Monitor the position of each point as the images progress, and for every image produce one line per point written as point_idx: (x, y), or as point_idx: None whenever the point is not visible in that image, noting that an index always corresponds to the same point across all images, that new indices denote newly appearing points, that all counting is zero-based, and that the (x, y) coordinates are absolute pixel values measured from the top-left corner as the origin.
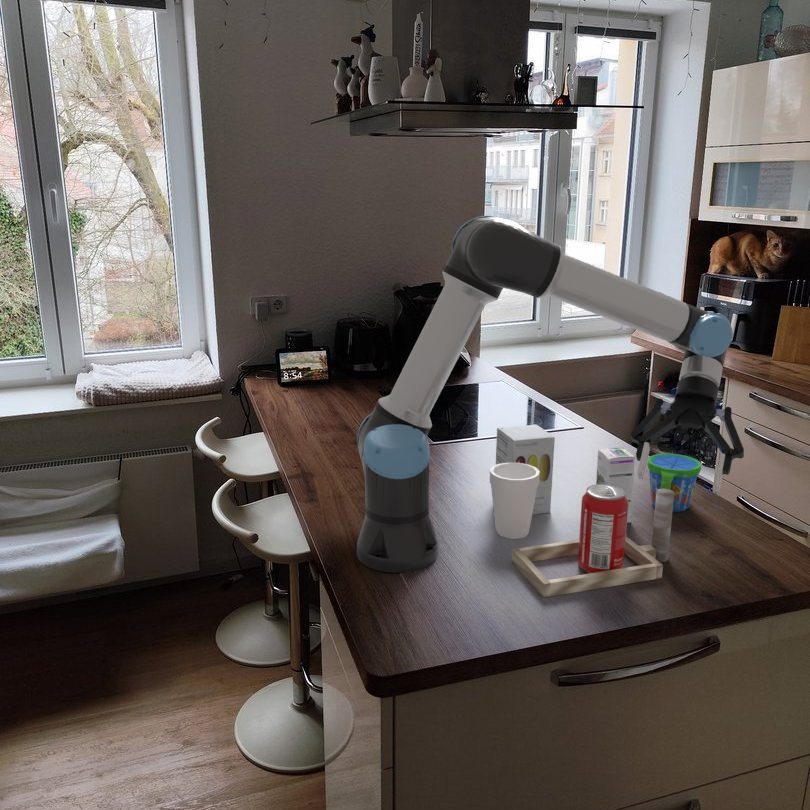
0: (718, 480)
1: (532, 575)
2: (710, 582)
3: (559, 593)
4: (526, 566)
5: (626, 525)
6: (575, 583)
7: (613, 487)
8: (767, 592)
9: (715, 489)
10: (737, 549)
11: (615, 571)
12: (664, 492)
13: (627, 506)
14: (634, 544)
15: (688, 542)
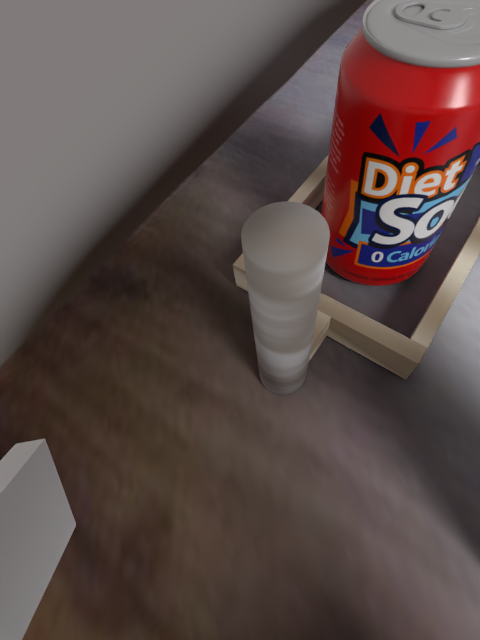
0: (3, 466)
1: None
2: (137, 342)
3: None
4: None
5: (334, 158)
6: None
7: (450, 49)
8: (12, 377)
9: (63, 500)
10: (93, 620)
11: (306, 185)
12: (284, 225)
13: (342, 82)
14: (345, 317)
15: (255, 560)
